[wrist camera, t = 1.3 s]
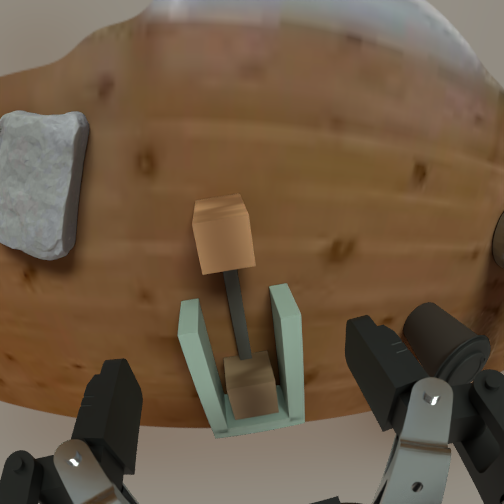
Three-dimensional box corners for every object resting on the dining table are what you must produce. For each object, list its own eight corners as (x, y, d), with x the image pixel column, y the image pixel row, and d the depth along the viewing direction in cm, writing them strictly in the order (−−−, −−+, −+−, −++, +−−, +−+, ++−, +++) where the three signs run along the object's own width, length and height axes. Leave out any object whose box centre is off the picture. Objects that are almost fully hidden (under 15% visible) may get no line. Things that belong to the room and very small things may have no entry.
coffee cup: (457, 300, 33) (506, 345, 24) (423, 351, 36) (462, 402, 27) (418, 284, 31) (473, 337, 22) (381, 343, 34) (421, 403, 25)
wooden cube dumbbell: (245, 192, 25) (256, 213, 20) (271, 382, 34) (281, 423, 28) (189, 201, 25) (184, 225, 19) (231, 389, 33) (236, 431, 28)
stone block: (9, 227, 25) (84, 253, 25) (-23, 241, 20) (54, 273, 21) (20, 107, 21) (103, 114, 21) (-14, 106, 17) (70, 110, 17)
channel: (286, 283, 29) (300, 314, 24) (294, 390, 35) (304, 422, 30) (181, 301, 28) (177, 335, 24) (213, 404, 34) (215, 438, 30)
